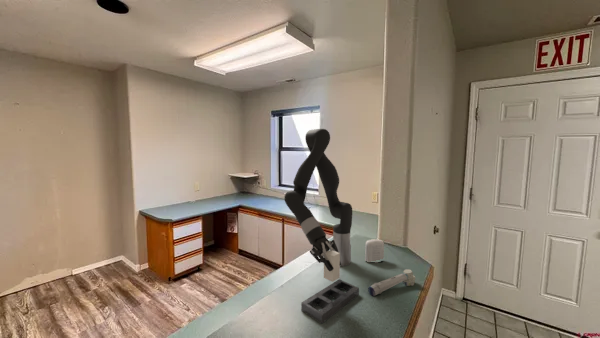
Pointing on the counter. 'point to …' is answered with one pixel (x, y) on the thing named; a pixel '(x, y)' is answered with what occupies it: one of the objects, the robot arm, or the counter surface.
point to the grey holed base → (327, 304)
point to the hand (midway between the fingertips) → (335, 267)
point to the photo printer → (374, 250)
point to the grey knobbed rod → (392, 282)
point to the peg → (335, 262)
